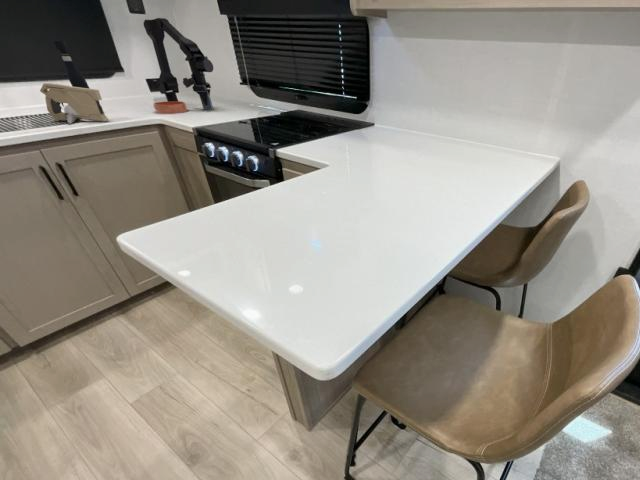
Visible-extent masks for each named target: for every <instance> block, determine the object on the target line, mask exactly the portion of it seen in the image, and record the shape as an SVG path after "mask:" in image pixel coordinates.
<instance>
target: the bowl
mask: <svg viewBox="0 0 640 480" xmlns="http://www.w3.org/2000/svg"><path fill="white" fill-rule="evenodd" d="M152 106H153V108H154V111H155V113H156V114H165V115H167V114H168V115H169V114H170V115H171V114H172V115H173V114H181V113H186V112H188V108H187V104H186V102H185V101H181V100H180V101H179V100H178V101H167V100H165V101H158V102H153V103H152Z"/></svg>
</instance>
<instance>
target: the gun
mask: <svg viewBox="0 0 640 480" xmlns="http://www.w3.org/2000/svg"><path fill="white" fill-rule="evenodd" d="M39 92H40V93H42V94H43V95H45V97H44V99H45V105H46V111H47V112H48V113H49V114H50V116H51V117H52V118H53V120H55V121H61V120H67V118H66V115H67V114H69V113H65V112H63V111H62V107H65V105H64V104H67V105H69V106H70V107H71V108H72V109H74V110H75V111H76V112H77V113H78V114H79V115H73V116H74V117H75V118H78V119H77V120H83V121H93V122H102V123H105V122H108V121H110V119H109V118H108V117H107V115H105V111H104V109H103V106H102V105H101V103H100V101H102V100H103V99H102V96H101V93H100V89H96V88H90V89H88V88H81V87H73V86H72V85H69V84H68V85H67V84H59V83H53V82H44V83H43V84H42V86H41V88H40V90H39Z"/></svg>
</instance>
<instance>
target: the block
mask: <svg viewBox="0 0 640 480" xmlns="http://www.w3.org/2000/svg"><path fill="white" fill-rule="evenodd" d="M198 96H199V98H200V102H201V105H202V109H203V111H213V110H214V106H213V103H212V102H213V101H212V99H211V94H210V95H209V93H208V105H205V104H204V102H203V100H202V98H201V97H200V95H199V94H198Z"/></svg>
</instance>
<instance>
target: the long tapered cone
mask: <svg viewBox="0 0 640 480" xmlns="http://www.w3.org/2000/svg"><path fill="white" fill-rule="evenodd" d="M63 111H64V113H69V114H67V115H66V118H67V119H66V121H67V123H68V124H70V125H71V124H73V123H75V122H76V121H77V120H79V119H78V118H75V117H74V116H73V115H79V114H78V113H77V112H76V111H75V110H74V109H72V108H71V107H70V106H69V105H68V104H67V105H65V106H64V108H63Z"/></svg>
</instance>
